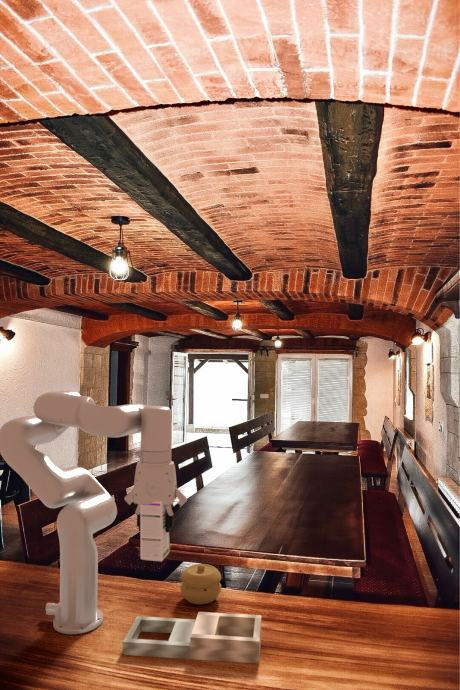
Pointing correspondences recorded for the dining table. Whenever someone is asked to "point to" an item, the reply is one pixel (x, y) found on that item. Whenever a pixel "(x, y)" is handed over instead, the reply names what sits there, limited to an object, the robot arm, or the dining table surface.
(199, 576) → the beige rounded piece
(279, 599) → the dining table surface
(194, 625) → the rack
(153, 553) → the syrup box
